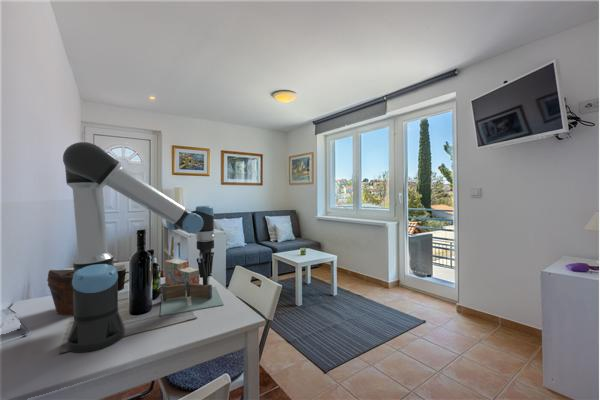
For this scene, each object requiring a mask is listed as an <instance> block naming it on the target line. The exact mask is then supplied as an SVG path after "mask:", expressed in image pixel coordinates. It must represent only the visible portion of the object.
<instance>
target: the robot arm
mask: <svg viewBox="0 0 600 400" xmlns="http://www.w3.org/2000/svg"><path fill="white" fill-rule="evenodd" d="M62 161H63V165H64V169H65V180H66V181H65V182H66V185H67V186H68V187H70V188H71V189H72V195H73V196H72V199H73V208H74V210H73V211H74V221H75V234H76V235H75V236H76V246H77V257H76V258H75V259H74V260H73V261H72V264H73V265H72V266H73V270H74V275H73V279H72V286H73V308H74V314H73V323H72V325H71V328H70V332H69V335H68V336H67V341H66V348H67V350H68V351H69V352H71V353H86V352H92V351H98V350H100V349H103V348H107V347H109V346H111V345H114V343H116V342H118V341H120V340H121V339H122V338H124V336H125V332H126V328H125V327H126V326H125V324H124V323H125V322H124V321H123V319H122V317H121V315H120V312H119V293H118V284H117V279H118V273H117V269H116V268H115V267H116V266H114V265H115V264H114V256H113V254H111V253H110V252H108V240H107V226H106V224H107V223H106V212H105V201H104V187H106V186H107V187H109V188H111V189H113V190H115V191H116V192H118V193H119V194H121V195H123V196H124V197H126V198H128V199H129V200H131V201H133V202H134V203H136V204H138V205H139V206H142V207H143V208H145V209H146V210H148V211H150V212H151V213H153V214H155V215H157V216H159V217H160V218H162V219H164V220H165V225H166V228H167V229H168V230H169V231H179V230H180V231H183V232H186V233H188V234H196V249H197V250H198V251H199V254H198V255H199V257H198V258H196V263H197V267H198V268H197V269H199V279H201V278H202V285H209V284H210V282H211V281H210V277H212V273H213V265H214V264H213V263H214V256H215V252H213V251H212V249H214V248H215V228H214V227H215V226H214V225H215V224H214V222H215V221H214V219H215V213H214V207H213V206H211V205H198V206H196V207H195V210H189V209H188V208H186V207H185V206H183V205H182V204H180V203H178V202H177V201H175V200H173V198H170V196H167V195H166V194H165V193H163V192H161V191H160V190H159V189H156V188H155V187H153V185H150V184H149V183H147V182H146V181H144V180H143V179H141V178H139V177H137V176H136V175H135V174H134V173H132V172H130V171H128V170H127V169H126V168H124V167H123V166H122V163H121V162H120V161H118V159H116V158H114V157H113V156H111V155H110V154H109V153H107V152H106V151H105V150H104V149H102V148H101V147H100V146H98V145H97V144H95V143H91V142H87V141H82V142H80V141H79V142H75V143H72V144H71V145H69V146H68V147H66V149H65V150H64V152H63V155H62ZM210 285H211V284H210Z"/></svg>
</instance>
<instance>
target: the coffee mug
mask: <svg viewBox="0 0 600 400" xmlns="http://www.w3.org/2000/svg"><path fill="white" fill-rule="evenodd" d="M114 267H115V268H116V269H117V273H118V279H117V284H118V291H122V290H124V289H125V284H126V283H127V282H129V281H130V280H129V279H127V280H126V275H127V274H130V273H129V272H130V271H127V267H124V266H117V267H116V266H114ZM125 280H126V281H125Z"/></svg>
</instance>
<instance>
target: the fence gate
mask: <svg viewBox="0 0 600 400" xmlns="http://www.w3.org/2000/svg"><path fill="white" fill-rule="evenodd" d="M212 287H213V285H212V284H209V285H203V284H200V283H199V284H190V296H191V297H199V298H207V299H211V298H212Z"/></svg>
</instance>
